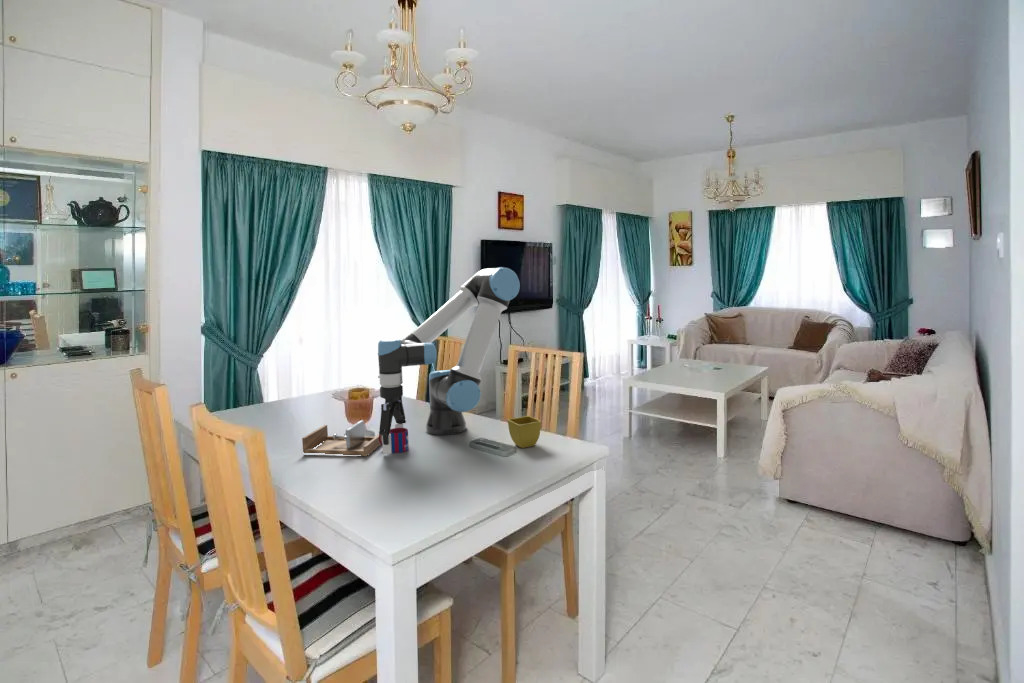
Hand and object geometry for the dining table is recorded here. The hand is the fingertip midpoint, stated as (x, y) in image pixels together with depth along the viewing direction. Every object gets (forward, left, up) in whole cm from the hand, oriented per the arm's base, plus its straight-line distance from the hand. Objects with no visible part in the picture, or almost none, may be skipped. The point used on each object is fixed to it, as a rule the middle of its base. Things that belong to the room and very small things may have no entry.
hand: (393, 447), depth 184 cm
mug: (0, 0, -1) cm, 1 cm away
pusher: (+17, 0, +1) cm, 17 cm away
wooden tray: (+17, 0, -1) cm, 17 cm away
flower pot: (-44, -7, -1) cm, 45 cm away
